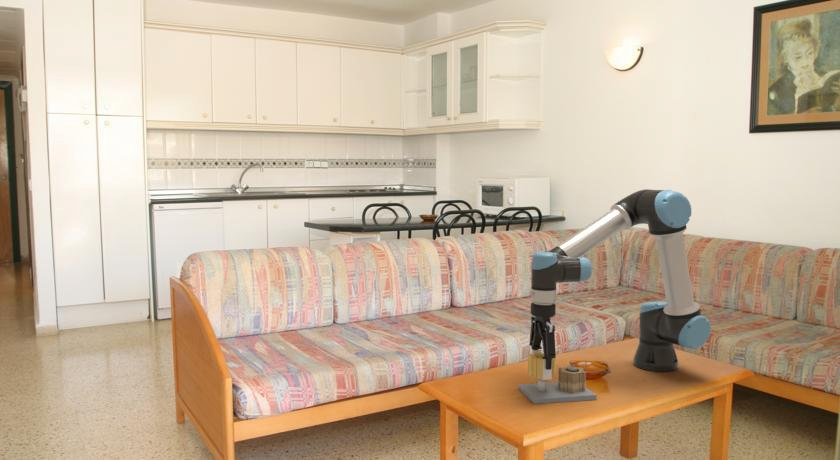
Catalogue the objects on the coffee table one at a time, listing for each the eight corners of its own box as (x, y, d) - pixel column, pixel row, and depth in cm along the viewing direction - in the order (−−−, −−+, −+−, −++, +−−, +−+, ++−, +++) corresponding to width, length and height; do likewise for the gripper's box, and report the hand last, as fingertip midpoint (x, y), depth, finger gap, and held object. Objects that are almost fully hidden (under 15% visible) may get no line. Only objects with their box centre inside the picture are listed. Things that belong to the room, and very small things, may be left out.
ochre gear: (549, 370, 217) (549, 352, 217) (559, 378, 209) (560, 359, 208) (523, 371, 216) (524, 353, 215) (533, 380, 207) (533, 360, 207)
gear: (578, 383, 220) (579, 365, 219) (590, 392, 211) (590, 373, 211) (553, 385, 218) (554, 366, 217) (564, 393, 210) (564, 374, 209)
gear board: (577, 385, 223) (577, 360, 222) (596, 399, 209) (597, 373, 208) (518, 389, 219) (519, 364, 218) (534, 403, 205) (534, 377, 204)
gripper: (520, 296, 220) (518, 365, 222) (544, 310, 199) (542, 386, 201) (542, 295, 221) (540, 364, 223) (568, 309, 200) (566, 384, 203)
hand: (541, 374), depth 212 cm, fingers closed on ochre gear, 8 cm apart
